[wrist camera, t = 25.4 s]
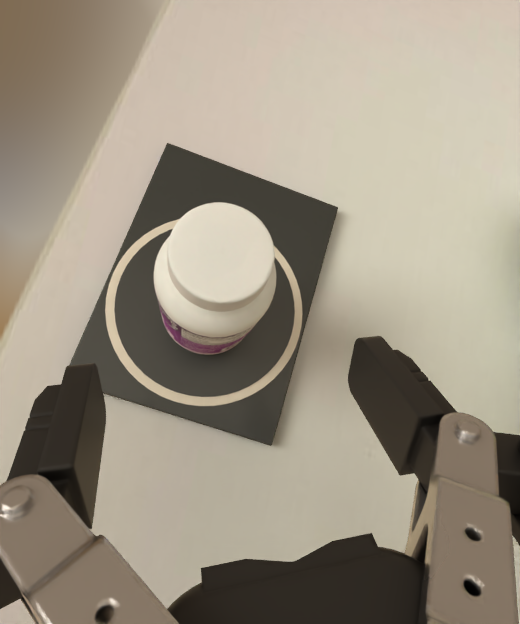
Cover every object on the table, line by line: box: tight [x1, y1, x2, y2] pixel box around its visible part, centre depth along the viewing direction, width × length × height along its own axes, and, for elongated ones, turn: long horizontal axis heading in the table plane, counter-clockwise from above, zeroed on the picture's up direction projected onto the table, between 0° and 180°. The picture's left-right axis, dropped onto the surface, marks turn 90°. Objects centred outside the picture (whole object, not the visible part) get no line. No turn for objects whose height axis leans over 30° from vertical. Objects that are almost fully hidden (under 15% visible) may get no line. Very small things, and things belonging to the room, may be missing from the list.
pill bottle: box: [154, 202, 276, 355], centre depth 20 cm, size 5×5×10 cm
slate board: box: [69, 143, 338, 446], centre depth 25 cm, size 16×12×1 cm
